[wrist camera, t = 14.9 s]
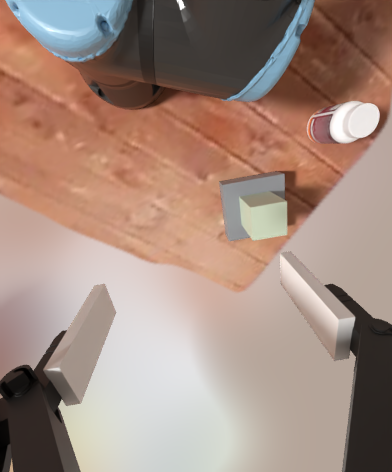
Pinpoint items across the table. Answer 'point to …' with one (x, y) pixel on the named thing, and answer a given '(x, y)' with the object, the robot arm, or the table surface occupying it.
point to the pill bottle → (343, 122)
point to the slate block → (241, 188)
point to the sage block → (263, 215)
